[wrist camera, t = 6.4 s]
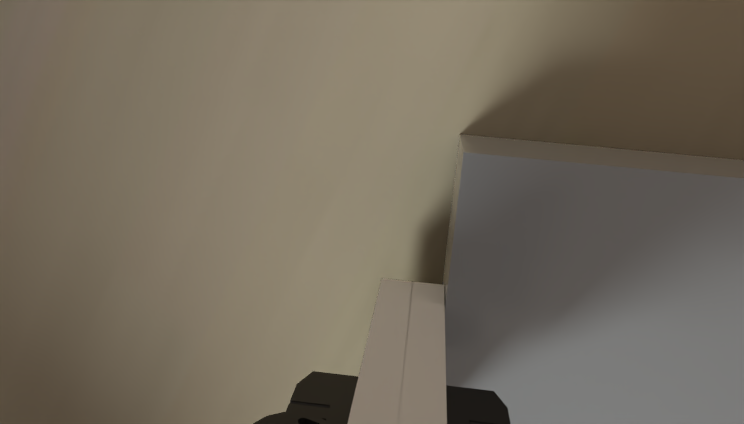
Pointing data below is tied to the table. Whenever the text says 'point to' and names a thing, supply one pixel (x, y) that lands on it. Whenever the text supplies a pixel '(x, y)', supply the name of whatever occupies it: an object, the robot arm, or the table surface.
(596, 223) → the gray block
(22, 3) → the table surface
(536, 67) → the table surface
